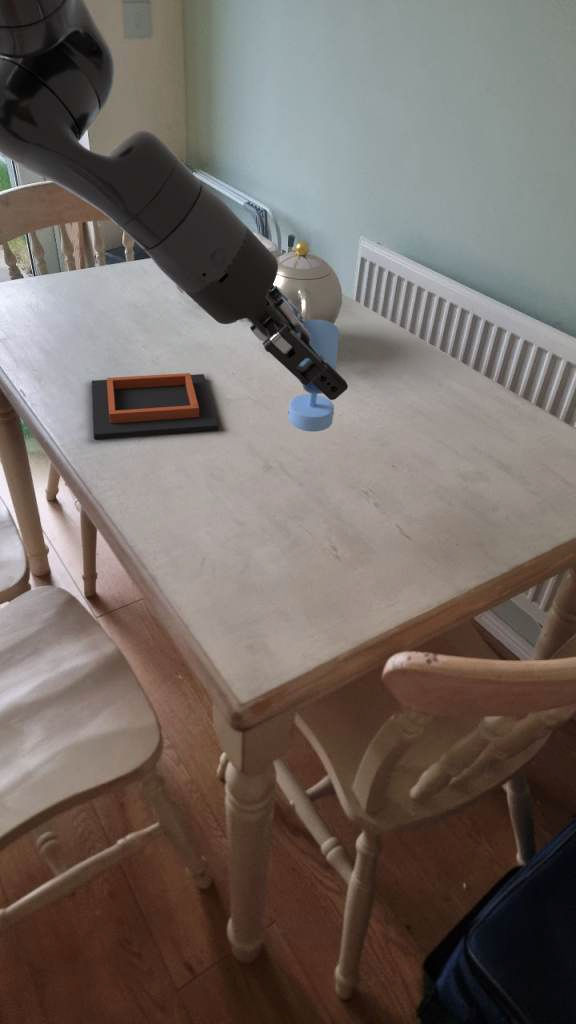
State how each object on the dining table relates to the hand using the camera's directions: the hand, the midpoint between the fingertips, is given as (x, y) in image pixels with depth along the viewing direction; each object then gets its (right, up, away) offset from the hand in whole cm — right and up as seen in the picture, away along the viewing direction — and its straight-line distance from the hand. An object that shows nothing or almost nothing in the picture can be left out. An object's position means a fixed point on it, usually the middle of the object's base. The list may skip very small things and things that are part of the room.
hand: (329, 372), depth 68 cm
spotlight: (-2, -4, +3) cm, 5 cm away
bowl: (-16, +26, +58) cm, 66 cm away
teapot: (-3, +13, +44) cm, 46 cm away
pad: (-23, +1, +27) cm, 36 cm away
